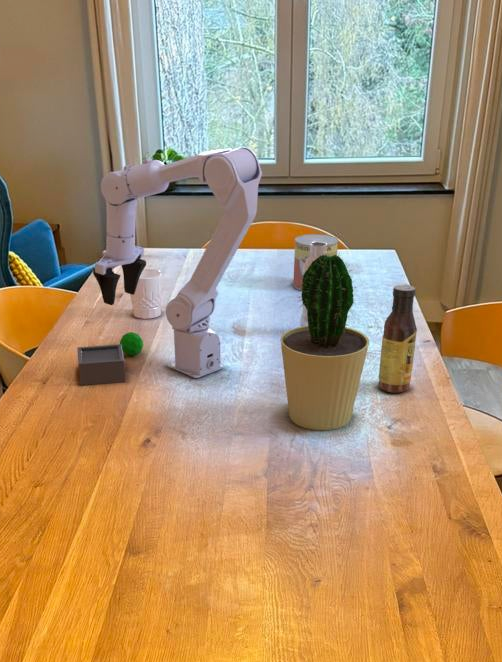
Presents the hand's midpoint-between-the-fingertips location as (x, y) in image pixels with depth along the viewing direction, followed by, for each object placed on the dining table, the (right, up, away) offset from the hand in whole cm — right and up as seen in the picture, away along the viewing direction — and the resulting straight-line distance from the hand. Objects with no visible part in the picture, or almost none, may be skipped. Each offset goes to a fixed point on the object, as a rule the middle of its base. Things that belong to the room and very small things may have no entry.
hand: (119, 298), depth 168 cm
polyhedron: (+2, -11, +5) cm, 12 cm away
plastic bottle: (+43, -4, +15) cm, 45 cm away
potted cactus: (+40, -28, -21) cm, 53 cm away
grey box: (-3, -17, -4) cm, 18 cm away
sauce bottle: (+56, -21, -11) cm, 60 cm away
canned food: (+46, +15, +45) cm, 66 cm away
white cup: (+3, +3, +26) cm, 27 cm away
